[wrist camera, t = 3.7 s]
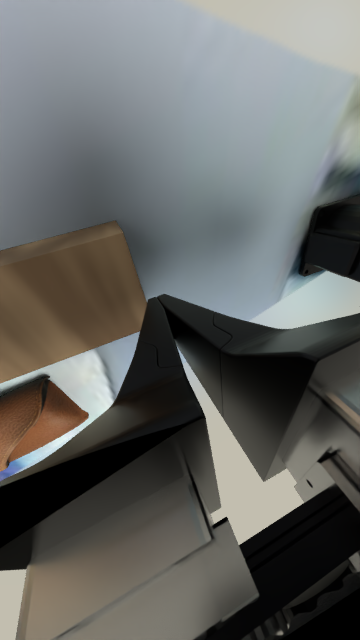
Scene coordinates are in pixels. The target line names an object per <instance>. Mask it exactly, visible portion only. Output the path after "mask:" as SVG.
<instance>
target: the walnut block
mask: <svg viewBox="0 0 360 640" xmlns="http://www.w3.org/2000/svg"><path fill="white" fill-rule="evenodd" d="M146 306H147V302H146V299H145V296H144V293H143V290H142V287H141V284H140V281H139V278H138V275H137V272H136V269H135V266H134V263H133V260H132V257H131V254H130V251H129V248H128V245H127V242H126V239H125V237H124V234H123V232H122V230H121V228H120V227H119V225H118V224H117V222H116V221H111V222H108V223H104V224H100V225H96V226H92V227H89V228H85V229H81V230H77V231H73V232H70V233H66V234H62V235H58V236H54V237H50V238H47V239H43V240H39V241H35V242H31V243H28V244H24V245H20V246H16V247H12V248H9V249H5V250H1V251H0V383H3V382H5V381H8V380H11V379H13V378H16V377H19V376H21V375H24V374H27V373H29V372H32V371H35V370H37V369H40V368H43V367H45V366H48V365H51V364H53V363H56V362H59V361H61V360H64V359H67V358H69V357H72V356H75V355H77V354H80V353H83V352H85V351H88V350H91V349H93V348H96V347H99V346H102V345H104V344H107V343H110V342H112V341H115V340H118V339H120V338H123V337H126V336H128V335H131V334H134V333H136V332H139V331H140V330H141V326H142V322H143V318H144V314H145V310H146Z"/></svg>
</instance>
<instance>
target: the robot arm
mask: <svg viewBox="0 0 360 640" xmlns="http://www.w3.org/2000/svg"><path fill="white" fill-rule="evenodd" d="M321 270H327V271H330V272H332V273H335V274H338V275H340V276H343V277H347V278H350V279H353V280H355V281H358V282H360V195H356V196H353V197H350V198H346V199H343V200H339V201H336V202H333V203H329V204H326V205H323V206H320V207H318V208H317V209H316V210H315V212H314V215H313V219H312V223H311V227H310V231H309V235H308V239H307V244H306V248H305V252H304V256H303V260H302V264H301V268H300V273H299V274H300V275H302V276H304V277H305V276H308V275H311V274H313V273H316V272H319V271H321ZM176 345H177V346H178V348H179V350H180V351H181V353H182V354H183V356H184V357H185V359H186V361H187V362H188V364H189V365H190V367H191V369H192V370H193V372H194V373H195V375H196V376H197V378H198V379H199V381H200V383H201V384H202V386H203V387H204V389H205V390H206V392H207V394H208V395H209V397H210V398H211V400H212V402H213V403H214V405H215V406H216V408H217V409H218V411H219V413H220V414H221V416H222V417H223V418H224V420H225V422H226V424H227V425H228V427H229V428H230V430H231V431H232V433H233V435H234V436H235V438H236V439H237V441H238V443H239V444H240V446H241V447H242V449H243V451H244V452H245V454H246V455H247V457H248V458H249V460H250V462H251V463H252V465H253V466H254V468H255V469H256V471H257V472H258V474H259V476H260V477H261V479H262V480H263V482H264V481H266V480H268V479H270V478H271V477H273V476H275V475H276V474H278V473H280V472H281V471H283V470H285V469H286V468H287V469H288V470H289V472H290V473H291V475H292V476H293V477H294V479H295V480H296V482H297V484H296V485H295V486H294V487H295V489H296V491H297V492H298V494H299V495H300V497H301V498H302V500H303V501H304V504H302V505H301V506H299V507H297V508H296V509H294V510H293V511H291V512H290V513H288V514H286V515H285V516H283V517H282V518H281V519H279V520H277V521H276V522H274V523H273V524H271V525H270V526H268V527H266V528H265V529H263V530H262V531H261V532H259V533H257V534H256V535H254V536H253V537H251V538H250V539H248V540H247V541H245V542H244V543H242V544H240V545H238V542H237V540H236V538H235V535H234V533H233V530H232V528H231V525H230V523H229V521H228V518H227V517H225V518H223V519H222V520H220V521H219V522H217V523H215V524H214V522H213V520H212V517H211V515H210V514H211V513H212V512H214V511H216V510H218V509H219V508H221V504H220V497H219V492H218V486H217V480H216V475H215V469H214V463H213V458H212V452H211V446H210V440H209V435H208V430H207V424H206V418H205V415H204V413H203V410H202V408H201V406H200V404H199V402H198V399H197V398H196V396H195V393H194V391H193V389H192V387H191V385H190V383H189V381H188V379H187V376H186V374H185V371H184V368H183V364H182V361H181V358H180V355H179V352H178V349H177V346H176ZM19 569H27V571H26V578H25V584H24V590H23V596H22V602H21V609H20V615H19V621H18V627H17V633H16V640H360V313H358V314H354V315H351V316H346V317H342V318H337V319H333V320H328V321H324V322H320V323H316V324H312V325H307V326H303V327H298V328H294V329H276V328H271V327H267V326H263V325H260V324H255V323H251V322H248V321H244V320H240V319H236V318H233V317H229V316H226V315H223V314H220V313H217V312H214V311H212V310H209V309H206V308H203V307H200V306H197V305H195V304H192V303H189V302H186V301H183V300H180V299H178V298H175V297H172V296H169V295H166V294H163V295H160V296H157V298H156V297H154V298H151V299H148V302H147V306H146V310H145V314H144V318H143V322H142V326H141V330H140V335H139V339H138V342H137V347H136V350H135V354H134V357H133V360H132V362H131V365H130V367H129V370H128V372H127V374H126V377H125V379H124V382H123V384H122V386H121V389H120V391H119V393H118V396H117V398H116V399H115V401H114V403H113V404H112V406H111V407H110V408H109V409H108V410H107V411H106V412H104V413H103V414H102V415H101V416H99V417H98V418H97V419H96V420H94V421H93V422H92V423H91V424H89V425H88V426H87V427H86V428H84V429H83V430H82V431H81V432H79V433H78V434H77V435H76V436H75V437H73V438H72V439H71V440H70V441H68V442H67V443H66V444H65V445H63V446H62V447H61V448H59V449H58V450H57V451H56V452H54V453H52V454H51V455H49V456H48V457H46V458H45V459H44V460H42V461H40V462H39V463H37V464H35V465H33V466H31V467H29V468H27V469H25V470H23V471H21V472H19V473H17V474H15V475H12V476H10V477H8V478H6V479H4V480H2V481H0V571H3V570H19Z"/></svg>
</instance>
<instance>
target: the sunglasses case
mask: <svg viewBox="0 0 360 640" xmlns="http://www.w3.org/2000/svg"><path fill="white" fill-rule="evenodd" d="M48 378H50V376H48V377H46V378H43V379H41V380H36V381H33V382H31V383H29V384H27V385H25V386H23V387H20V388H18V389H15V390H13V391H11V392H9V393H7V394H5V395H3V396H1V397H0V471H3V470H4V469H6V468H7V467H8V466H9V463H10V462H11V461H13V460H16V459H18V458H20V457H22V456H24V455H26V454H28V453H30V452H32V451H34V450H37V449H38V448H40V447H43V446H44V445H46V444H47V443H49V442H52V441H53V440H55V439H57V438H59V437H61V436H62V435H64V434H65V433H67V432H69V431H71V430H73V429H74V428H75V427H77V426H79V425H80V424H82V423H83V422H84V421H85V420H87V419H88V416H89V414H88V413H87V412H85V411H83V410H82V409H81V408H80V407H79V406H78V405H77V404H76V403H75V402H74V401H72V400H71V399H70V398H69V397H68V396H67V395H66V394H65V393H64V392H63V391H62V390H60V388H58V387H57V386H56V385H55V384H54V383H53V382H52V381H50V380H48Z"/></svg>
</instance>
